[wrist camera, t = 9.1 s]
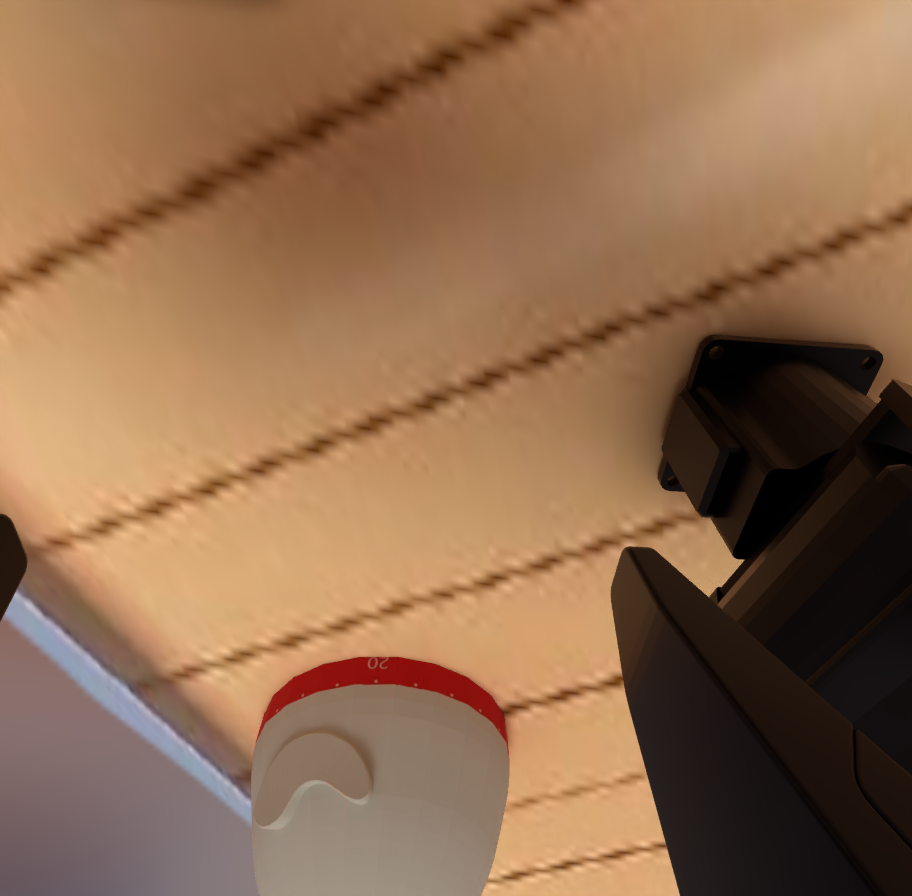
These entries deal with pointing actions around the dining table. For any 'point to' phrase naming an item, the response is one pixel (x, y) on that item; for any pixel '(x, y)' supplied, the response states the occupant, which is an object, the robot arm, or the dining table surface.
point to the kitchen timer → (378, 782)
